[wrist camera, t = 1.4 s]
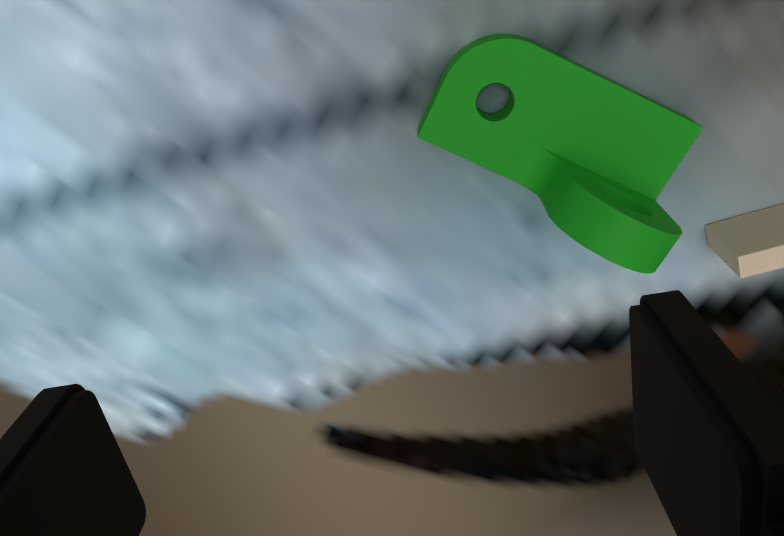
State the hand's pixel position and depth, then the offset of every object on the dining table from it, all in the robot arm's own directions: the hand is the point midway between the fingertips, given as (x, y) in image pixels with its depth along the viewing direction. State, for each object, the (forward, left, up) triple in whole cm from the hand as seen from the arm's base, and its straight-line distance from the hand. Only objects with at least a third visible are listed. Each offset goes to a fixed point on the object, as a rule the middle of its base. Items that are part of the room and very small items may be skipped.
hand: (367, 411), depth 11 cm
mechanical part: (-7, +3, -24) cm, 25 cm away
